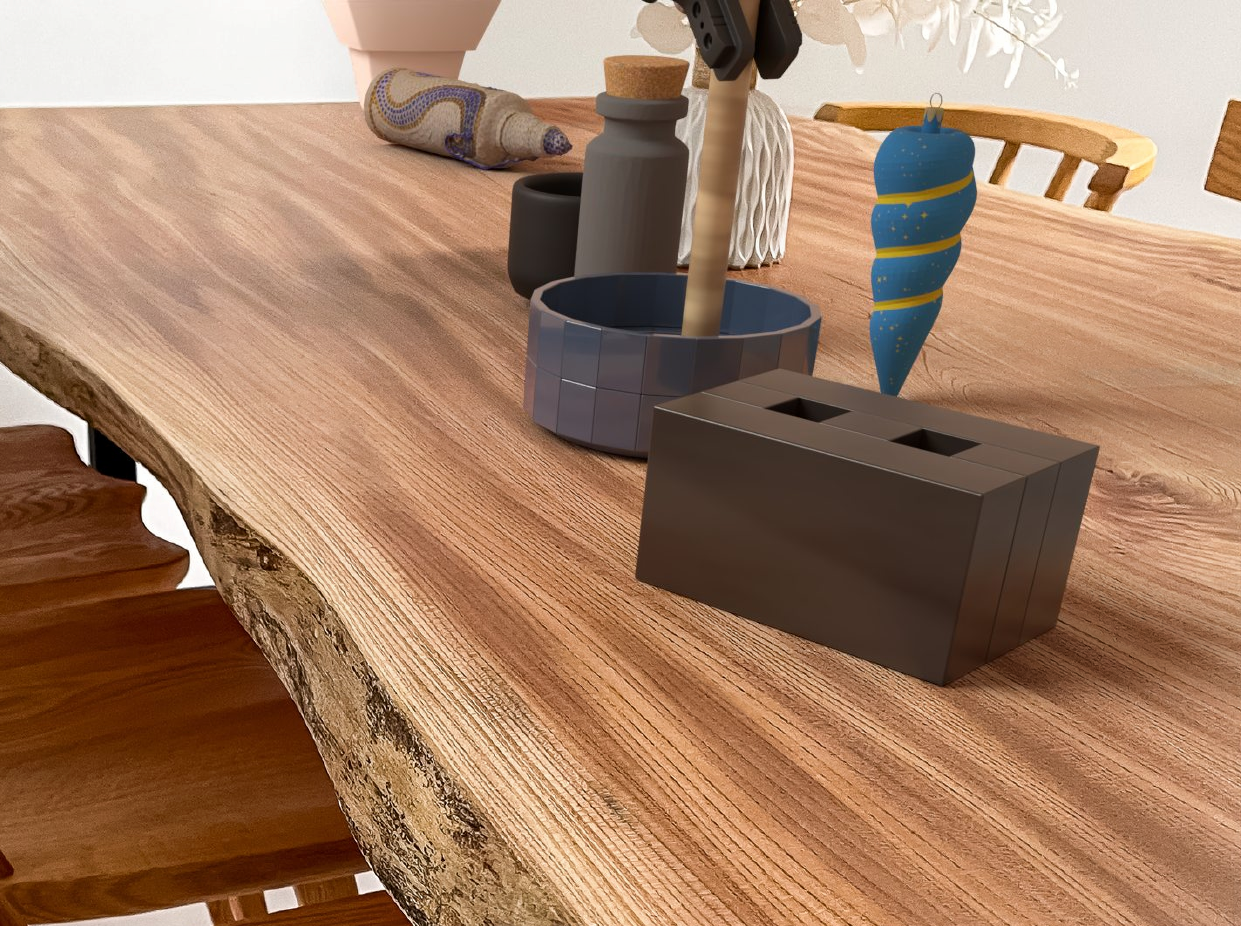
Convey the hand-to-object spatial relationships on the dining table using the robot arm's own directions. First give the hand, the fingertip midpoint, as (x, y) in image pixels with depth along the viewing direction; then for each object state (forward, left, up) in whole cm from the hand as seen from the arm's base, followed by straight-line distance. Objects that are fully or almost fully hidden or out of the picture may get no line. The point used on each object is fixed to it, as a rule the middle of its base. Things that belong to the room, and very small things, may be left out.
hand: (760, 66), depth 77 cm
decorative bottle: (-53, -67, -17) cm, 87 cm away
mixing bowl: (-1, -4, -17) cm, 17 cm away
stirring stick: (-1, -2, -15) cm, 15 cm away
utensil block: (+13, +16, -17) cm, 26 cm away
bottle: (-13, -16, -17) cm, 27 cm away
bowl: (-68, -89, -17) cm, 113 cm away
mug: (-17, -23, -17) cm, 33 cm away
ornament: (-14, +1, -17) cm, 22 cm away
